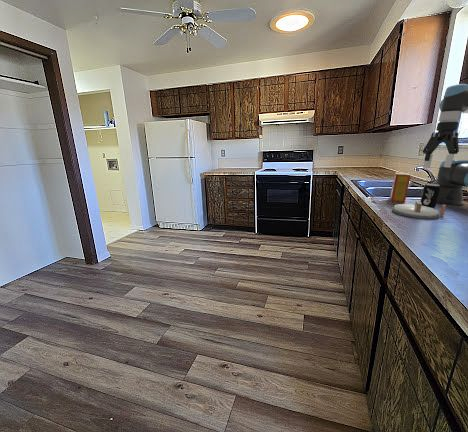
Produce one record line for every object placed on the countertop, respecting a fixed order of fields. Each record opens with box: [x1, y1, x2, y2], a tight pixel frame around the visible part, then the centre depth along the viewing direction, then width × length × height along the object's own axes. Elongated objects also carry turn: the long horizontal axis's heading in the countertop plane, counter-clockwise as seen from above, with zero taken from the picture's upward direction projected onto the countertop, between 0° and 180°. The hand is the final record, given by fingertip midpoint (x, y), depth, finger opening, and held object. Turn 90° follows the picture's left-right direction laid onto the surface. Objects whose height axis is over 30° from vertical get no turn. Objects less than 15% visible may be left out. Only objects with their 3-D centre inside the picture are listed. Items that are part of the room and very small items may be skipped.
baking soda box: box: [389, 171, 412, 204], centre depth 138 cm, size 10×6×16 cm
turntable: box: [393, 200, 440, 217], centre depth 115 cm, size 17×17×5 cm
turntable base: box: [392, 204, 447, 220], centre depth 114 cm, size 18×20×6 cm
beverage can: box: [420, 183, 440, 209], centre depth 125 cm, size 7×7×12 cm
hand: (436, 167), depth 120 cm, fingers open, 13 cm apart
